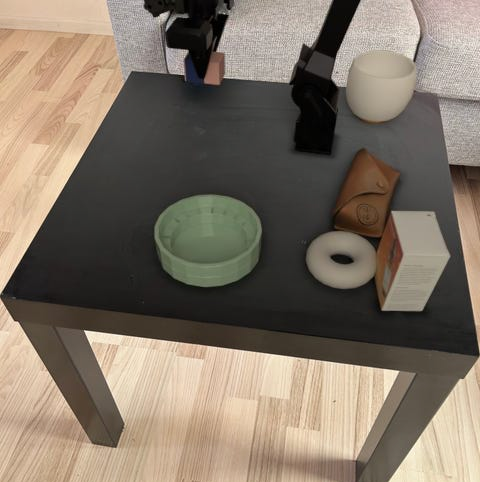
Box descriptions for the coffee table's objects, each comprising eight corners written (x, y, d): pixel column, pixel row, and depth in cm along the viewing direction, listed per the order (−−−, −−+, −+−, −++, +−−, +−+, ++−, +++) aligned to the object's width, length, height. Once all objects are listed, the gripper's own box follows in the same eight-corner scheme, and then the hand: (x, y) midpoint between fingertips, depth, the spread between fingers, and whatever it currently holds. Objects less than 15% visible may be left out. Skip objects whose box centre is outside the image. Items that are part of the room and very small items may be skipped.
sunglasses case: (385, 238, 71) (371, 202, 67) (341, 246, 75) (325, 213, 71) (402, 170, 81) (391, 135, 77) (363, 180, 85) (350, 148, 81)
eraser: (225, 74, 82) (224, 52, 79) (219, 85, 80) (218, 63, 77) (191, 70, 83) (190, 48, 80) (184, 81, 80) (183, 59, 78)
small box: (370, 267, 68) (389, 208, 59) (410, 268, 68) (434, 209, 59) (380, 312, 63) (402, 254, 54) (422, 312, 63) (451, 255, 54)
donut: (369, 302, 64) (380, 251, 70) (374, 285, 61) (386, 234, 67) (296, 284, 66) (313, 236, 72) (299, 267, 63) (316, 218, 69)
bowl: (268, 225, 73) (269, 201, 70) (249, 297, 64) (250, 274, 61) (175, 212, 75) (172, 188, 71) (145, 280, 66) (139, 257, 63)
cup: (411, 133, 89) (427, 81, 81) (345, 132, 89) (355, 80, 81) (398, 99, 96) (412, 48, 89) (337, 99, 97) (345, 48, 89)
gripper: (165, -63, 75) (176, 43, 87) (121, -22, 64) (141, 93, 76) (234, -58, 73) (235, 49, 86) (202, -15, 62) (208, 101, 75)
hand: (205, 71), depth 80 cm, fingers closed on eraser, 4 cm apart
